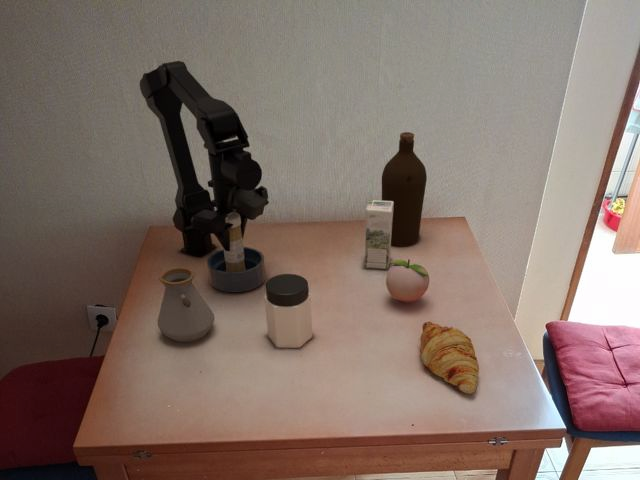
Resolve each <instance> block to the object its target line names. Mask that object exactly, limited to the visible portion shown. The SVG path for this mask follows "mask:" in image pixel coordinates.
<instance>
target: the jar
mask: <svg viewBox="0 0 640 480" xmlns="http://www.w3.org/2000/svg"><path fill="white" fill-rule="evenodd" d="M264 288H265V294H264V305H265V306H264V307H265V315H266V317H265V318H266V328H267V336H268V338H269V339H270V340H271V341H272V344H273V345H274V346H275V347H276V348H286V349H287V348H290V349H291V348H294V349H300V348H301V347H302V346H304V345H305V344H306V343H307V342H309V340H310V339H312V338H313V320H312V298H311V297H312V296H311V295H310V294H309V293H310V290H309V289H310V287H309V282H308V280H307V279H306V278H305V277H303V276H301V275H299V274H294V273H282V274H278V275H274V276H273V277H271V278H269V279H268V280H267V281H266V282H265V286H264Z"/></svg>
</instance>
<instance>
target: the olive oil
mask: <svg viewBox="0 0 640 480" xmlns="http://www.w3.org/2000/svg"><path fill="white" fill-rule="evenodd" d="M414 139H415V134H414V133H413V132H409V131H405V132H401V133H400V134H399V140H398V151H397V152H396V153H395V154H394V156H392V158H390V160H388V162H387V163H386V164H385V165H384V168H383V170H382V174H381V201H393V202H394V206H393V220H392V234H391V246H393V247H408V246H411V245H414V244H416V243H417V242H418V241H419V238H420V231H421V221H422V213H423V207H424V200H425V193H426V186H427V180H428V179H427V178H428V177H427V175H428V174H427V170H426V166H425V165H424V163H423V161H422V160H421V159H420V158H419V157H418V155H416V153H415V151H414V146H415V140H414Z"/></svg>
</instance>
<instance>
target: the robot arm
mask: <svg viewBox="0 0 640 480" xmlns="http://www.w3.org/2000/svg"><path fill="white" fill-rule="evenodd" d="M141 77H142V78H141V79H140V81H139V91H140V93H141V95H142V97H143V98H144V100H145V102H146V106H147V107H148V108H149V110H150V111H151V112H152V113H153V115H154V116H156V117H157V118H158V121H159V124H160V128H161V131H162V135H163V138H164V142H165V145H166V149H167V153H168V155H169V160H170V163H171V167H172V170H173V174H174V176H175V181H176V184H177V190H176V194H175V198H174V203H175V207H176V209H175V211H174V214H173V216H172V223H173V225H174V228H175V229H176V230H178V231H179V232H180V233H181V235H182V241H183V247H182V248H181V249H180V252H181V253H184V254H188V255H192V256H195V257H199V258H201V257H204V256H205V255H206V254H207V253H209V252H211V251H212V250H214V249H215V248H216V247H217V246H216V244H214V243H213V239H212V235H214V236H215V238H216V239H217V241H218V242H219V244H220V245H221V247H222V249H224V250H225V251H230V235H229V230H230V228H231V227H232V226H233V224H231V223H228V215H230V214H232V213H233V212H237V213H239V214H240V218H241V234H242V240H243V241H244V236H245V231H246V228H247V223H248V221H254V220H255V219H257V218H258V217H259V216H262V215H263V214H264V210H265V207H266V206H268V205H269V203H270V201H269V192H268V188H266V186H264V185H260V184H261V181H262V177H263V170H262V168H261V165H260V164H259V162H257V161H256V160H255V159H253V158H252V152H250V151H247V150H244V149H245V148H250V146H251V145H250V142H249V140H248V139H249V135H248V133H247V131H246V129H245V127H244V125H243V123H242V121H241V119H240V117H239V114H238V113H237V112H236V110H235V109H234V108H233V107H232V106H231V105H230V104H229V103H228V102H226V101H224V100H222V99H218V98H214V97H213V96H212V95H211V94H209V92H208V91H207V90H206V88H204V86H202V84H201V83H200V82H199V81H198V80H197V79H196V78H195V77H194V76H193V74H192V73H191V72H190V71H189V70H188V67H187V65H186V63H185V62H184V61H183V60H182V61H181V60H175V61H168V62H162V63H161V64H160V65H159V66H157V68H155V69H153V70H151V71H149V72H144V73H143V74H142V76H141ZM183 105H184V106H185V107H186V108H187V110H189V112H190V113H191V114H192V115H193V116H194V118H195V120H196V123H195V124H196V125H195V127H196V130H197V132H198V133H199V136H200V138H201V139H202V141H203V142H204V143H203V148H204V149H206V150H207V156H208V163H209V170H210V171H209V172H210V177H211V179H210V180H208V181H207V186H208V188H212V193H213V199H211V194H210V192H209V190H208V189H207V188H205V187H203V186H202V185H201V184H200V183H199V179H198V177H197V172H196V169H195V165H194V161H193V157H192V154H191V150H190V146H189V142H188V139H187V134H186V131H185V128H184V124H183V123H184V122H183V120H182V116H181V112H182V108H183ZM259 185H260V186H259ZM258 186H259V187H258Z"/></svg>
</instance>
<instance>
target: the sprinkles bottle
mask: <svg viewBox="0 0 640 480" xmlns="http://www.w3.org/2000/svg"><path fill="white" fill-rule="evenodd" d="M228 223H231V224H233V226H232V227H231V228H230V230H229V235H230V251H225V250H224V256H225V261H226V272H241V271H246V268H245V263H244V249H243V247H244V239H243V240H242V234H241V218H240V214H239V213H237V212H233V213H232V214H230V215H228Z"/></svg>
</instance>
